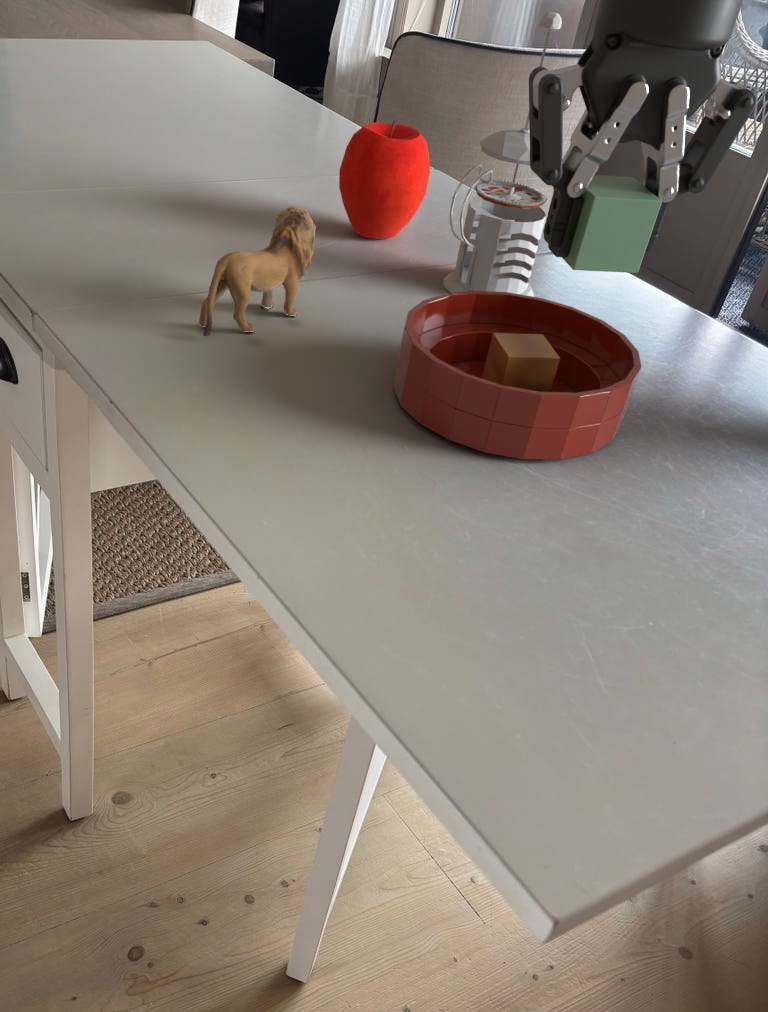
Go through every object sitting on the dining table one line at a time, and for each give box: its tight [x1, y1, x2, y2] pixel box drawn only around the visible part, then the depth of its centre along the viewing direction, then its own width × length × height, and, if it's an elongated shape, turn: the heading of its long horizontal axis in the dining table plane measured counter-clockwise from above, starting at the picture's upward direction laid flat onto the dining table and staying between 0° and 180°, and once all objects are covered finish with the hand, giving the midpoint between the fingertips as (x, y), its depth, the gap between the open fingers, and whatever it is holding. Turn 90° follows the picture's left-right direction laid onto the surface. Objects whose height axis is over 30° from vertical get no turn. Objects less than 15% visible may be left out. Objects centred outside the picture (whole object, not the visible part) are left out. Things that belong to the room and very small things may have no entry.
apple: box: [338, 120, 431, 240], centre depth 107 cm, size 10×10×12 cm
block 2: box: [561, 174, 662, 274], centre depth 62 cm, size 4×4×4 cm
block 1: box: [482, 333, 560, 392], centre depth 83 cm, size 4×4×4 cm
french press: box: [442, 11, 564, 297], centre depth 94 cm, size 10×12×25 cm
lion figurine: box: [198, 206, 316, 337], centre depth 89 cm, size 15×5×9 cm, turn 145°
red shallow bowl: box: [393, 291, 642, 461], centre depth 81 cm, size 19×19×6 cm
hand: (594, 253), depth 63 cm, fingers closed on block 2, 4 cm apart
